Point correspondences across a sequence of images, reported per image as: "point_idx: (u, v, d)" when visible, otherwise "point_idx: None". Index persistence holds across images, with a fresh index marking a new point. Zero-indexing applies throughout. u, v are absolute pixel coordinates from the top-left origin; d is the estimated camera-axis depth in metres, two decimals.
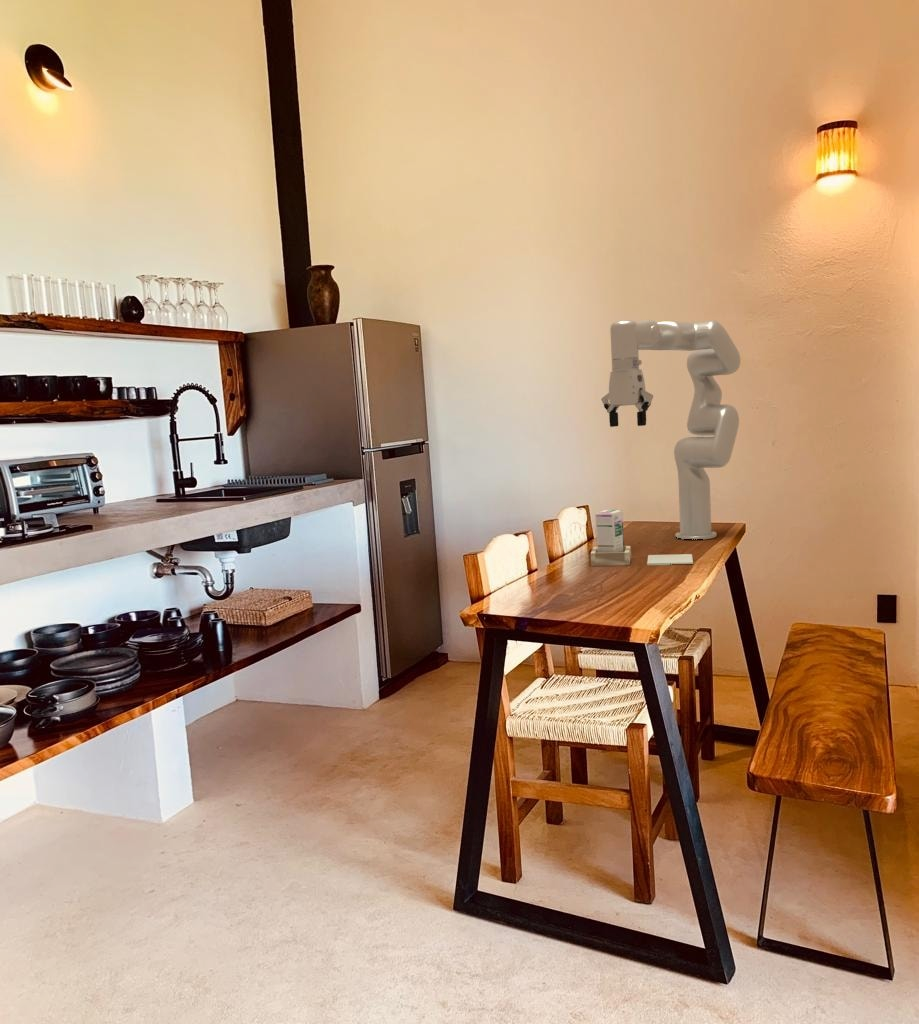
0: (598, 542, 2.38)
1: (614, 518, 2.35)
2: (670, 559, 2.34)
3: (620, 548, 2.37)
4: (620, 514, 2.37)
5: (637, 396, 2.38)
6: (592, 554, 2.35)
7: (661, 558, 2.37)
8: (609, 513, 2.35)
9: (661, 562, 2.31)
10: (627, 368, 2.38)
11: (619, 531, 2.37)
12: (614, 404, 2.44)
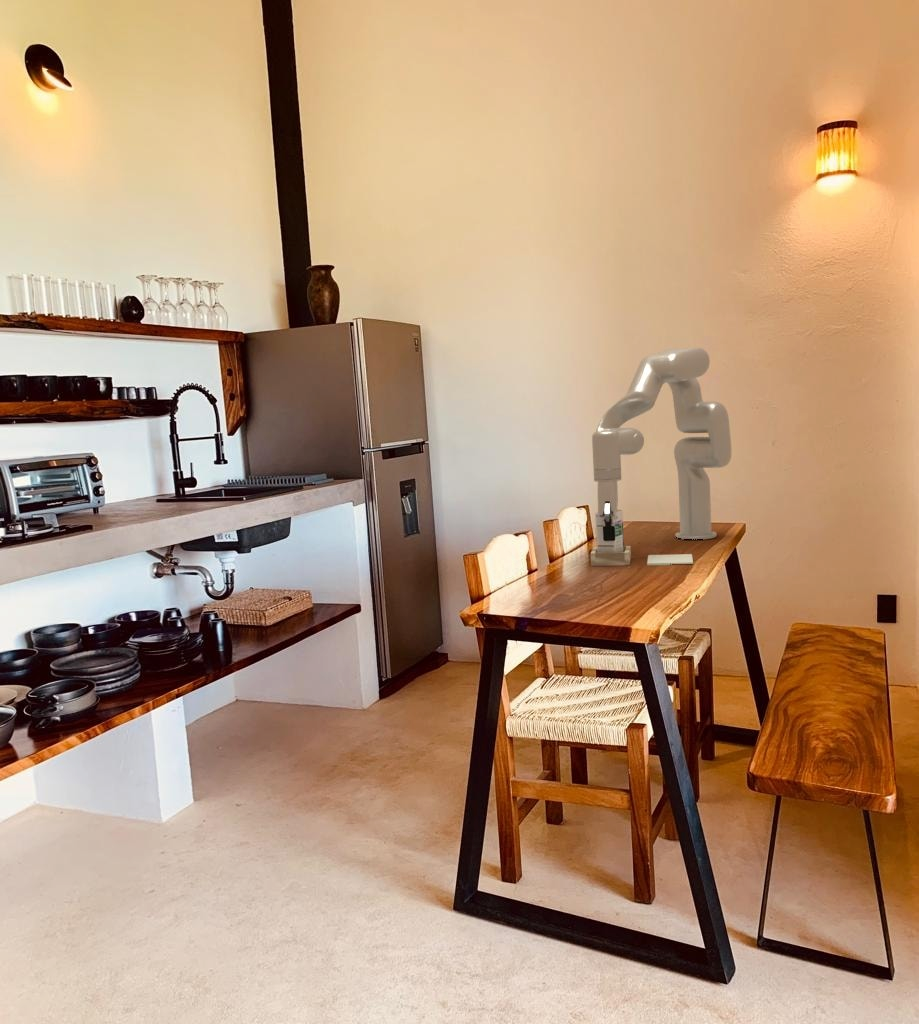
0: (598, 542, 2.38)
1: (614, 518, 2.35)
2: (670, 559, 2.34)
3: (620, 548, 2.37)
4: (620, 514, 2.37)
5: None
6: (592, 554, 2.35)
7: (661, 558, 2.37)
8: None
9: (661, 562, 2.31)
10: None
11: (619, 531, 2.37)
12: (615, 514, 2.35)
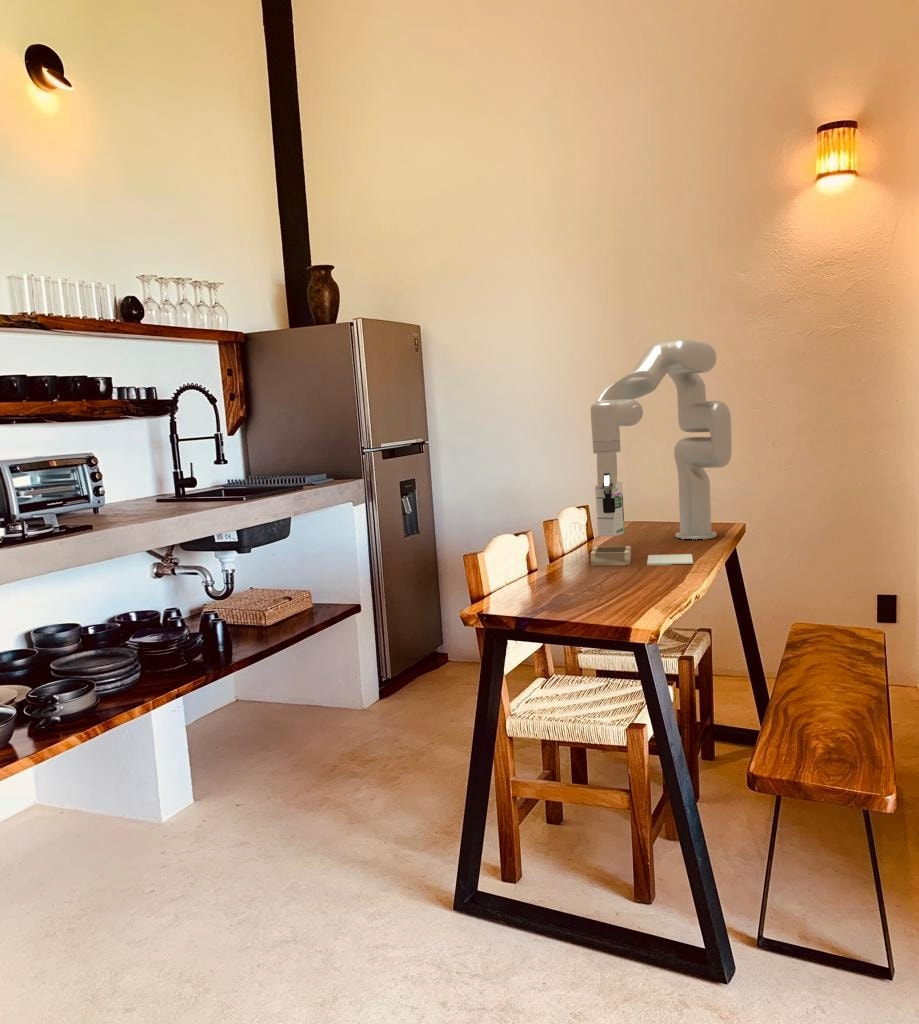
0: (598, 514, 2.37)
1: (614, 490, 2.34)
2: (670, 559, 2.34)
3: (619, 520, 2.37)
4: (620, 486, 2.37)
5: None
6: (592, 554, 2.35)
7: (661, 558, 2.37)
8: (609, 485, 2.34)
9: (661, 562, 2.31)
10: None
11: (619, 503, 2.36)
12: (615, 486, 2.34)
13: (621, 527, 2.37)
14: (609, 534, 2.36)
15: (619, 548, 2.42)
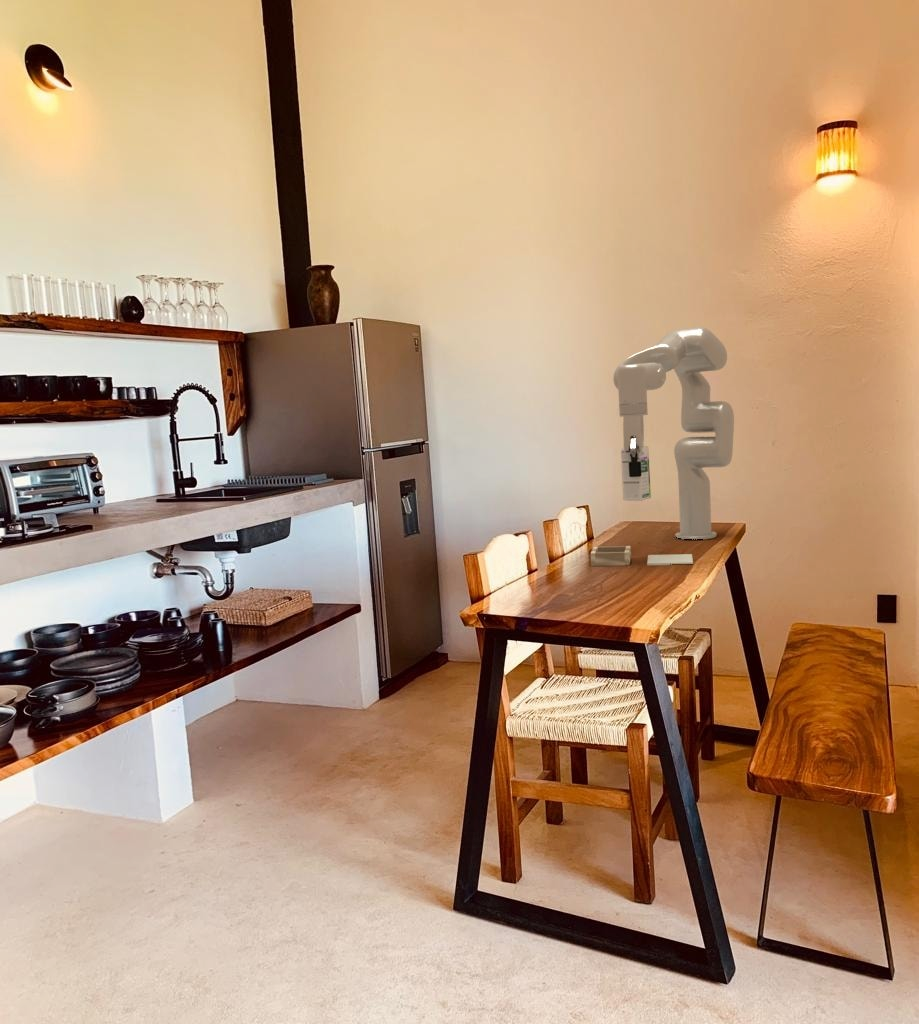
0: (623, 479, 2.34)
1: (640, 453, 2.31)
2: (670, 559, 2.34)
3: (645, 485, 2.33)
4: (646, 450, 2.33)
5: None
6: (592, 554, 2.35)
7: (661, 558, 2.37)
8: None
9: (661, 562, 2.31)
10: None
11: (645, 467, 2.33)
12: (641, 450, 2.31)
13: (647, 492, 2.34)
14: (635, 498, 2.33)
15: (619, 548, 2.42)
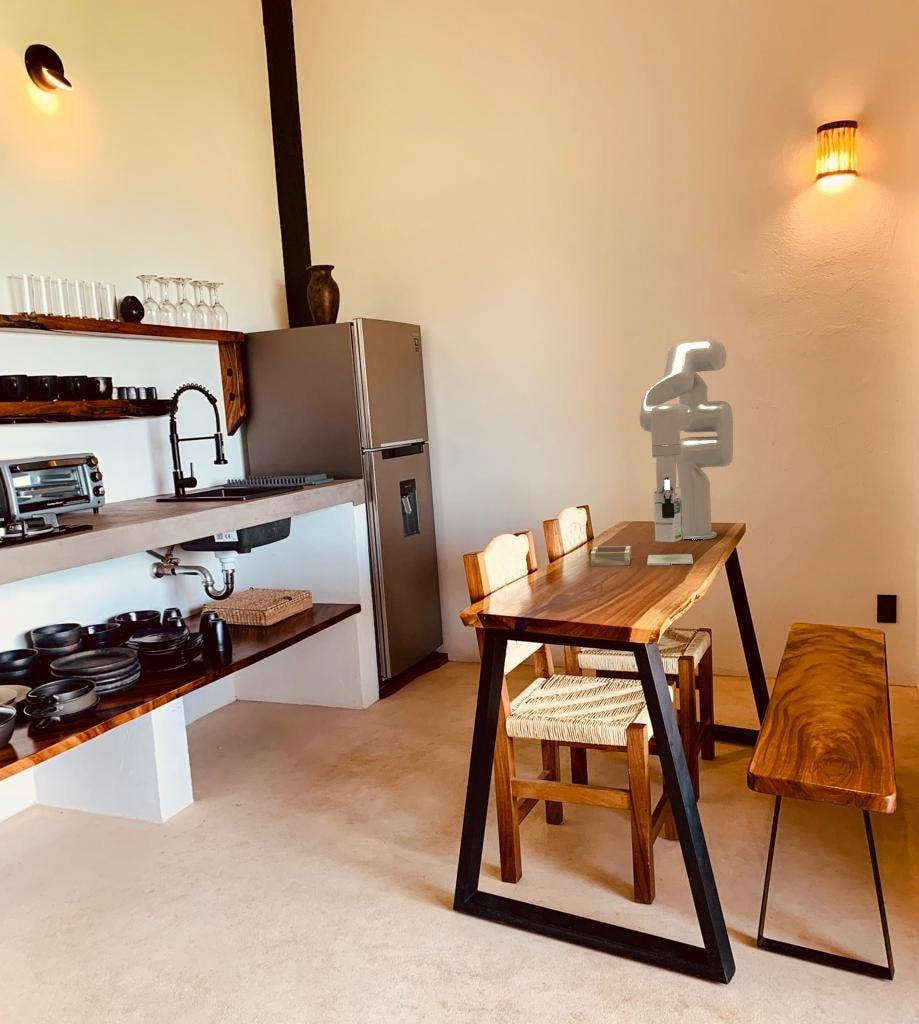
0: (656, 519, 2.33)
1: (673, 495, 2.30)
2: (670, 559, 2.34)
3: (678, 526, 2.33)
4: (679, 491, 2.33)
5: None
6: (592, 554, 2.35)
7: (661, 558, 2.37)
8: None
9: (661, 562, 2.31)
10: None
11: (678, 508, 2.32)
12: (674, 491, 2.30)
13: (679, 533, 2.33)
14: (667, 540, 2.32)
15: (619, 548, 2.42)
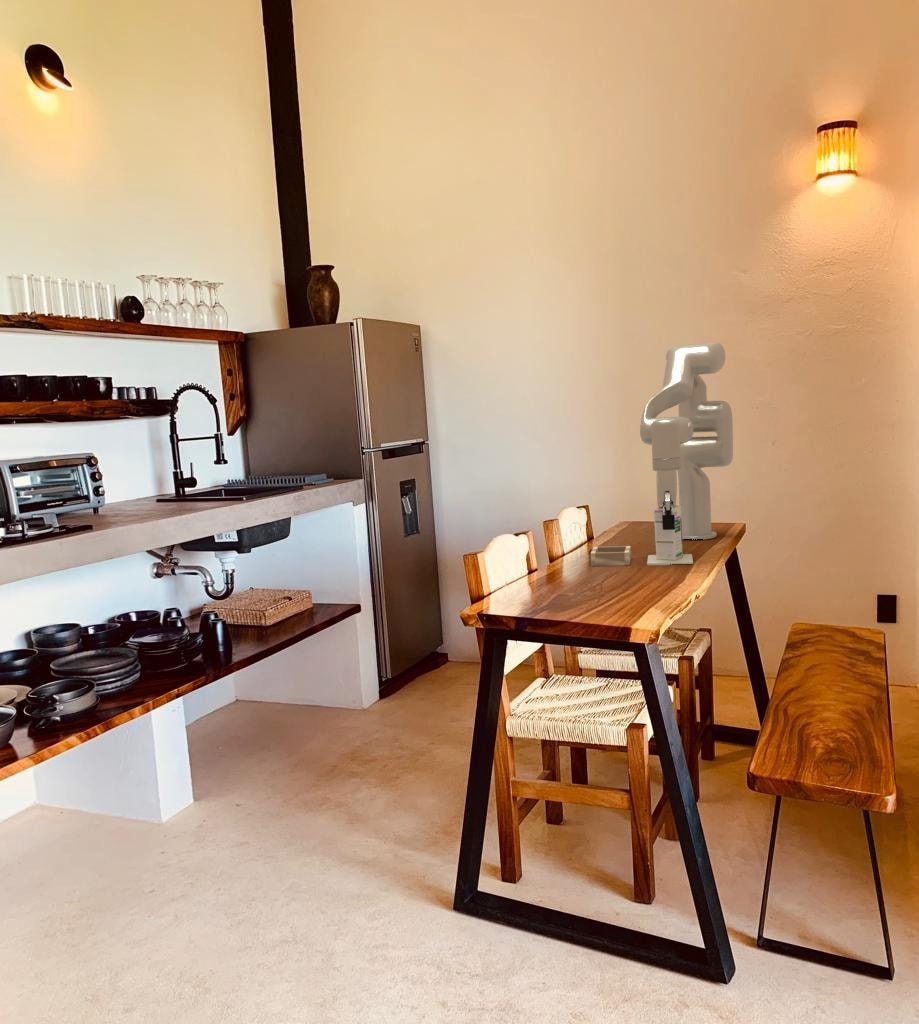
0: (656, 538, 2.34)
1: (674, 514, 2.31)
2: None
3: (679, 544, 2.34)
4: (679, 510, 2.34)
5: None
6: (592, 554, 2.35)
7: None
8: None
9: (661, 562, 2.31)
10: None
11: (678, 527, 2.33)
12: None
13: (680, 551, 2.34)
14: (668, 558, 2.33)
15: (619, 548, 2.42)
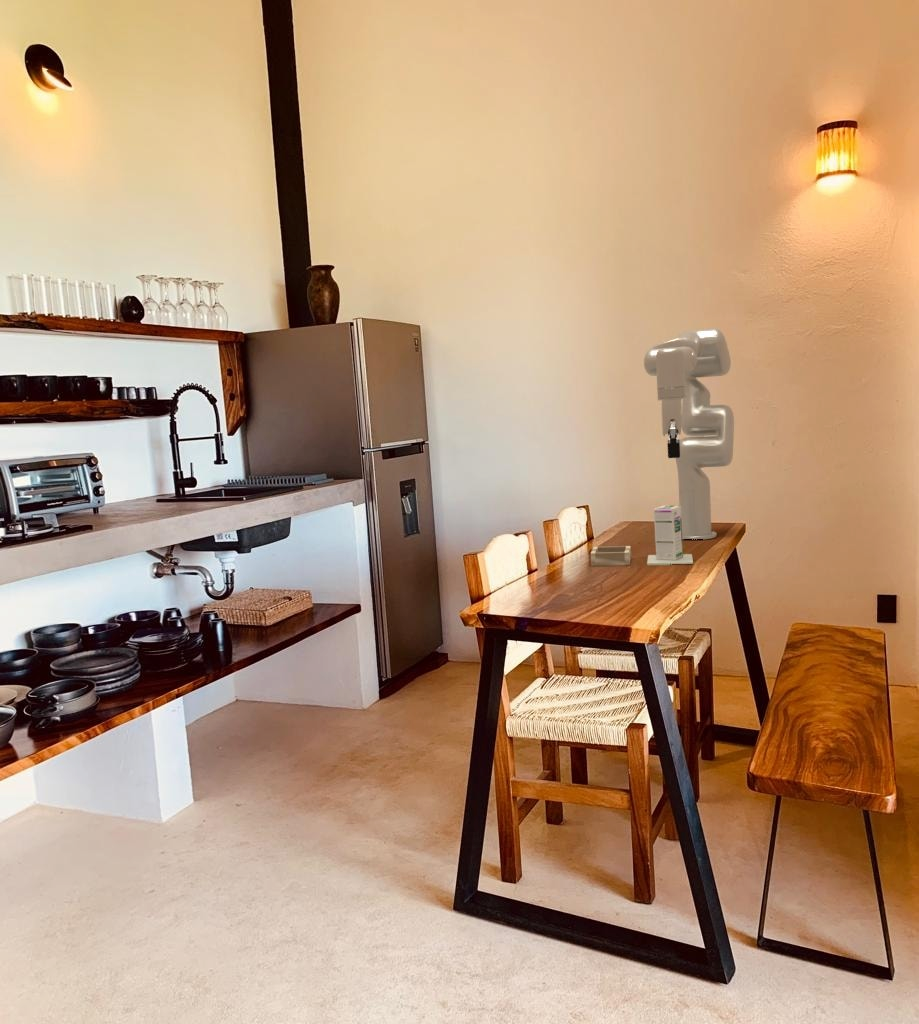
0: (656, 538, 2.34)
1: (674, 514, 2.31)
2: None
3: (679, 544, 2.34)
4: (679, 510, 2.34)
5: None
6: (592, 554, 2.35)
7: None
8: (669, 509, 2.31)
9: (661, 562, 2.31)
10: None
11: (678, 527, 2.33)
12: None
13: (680, 551, 2.34)
14: (668, 558, 2.33)
15: (619, 548, 2.42)
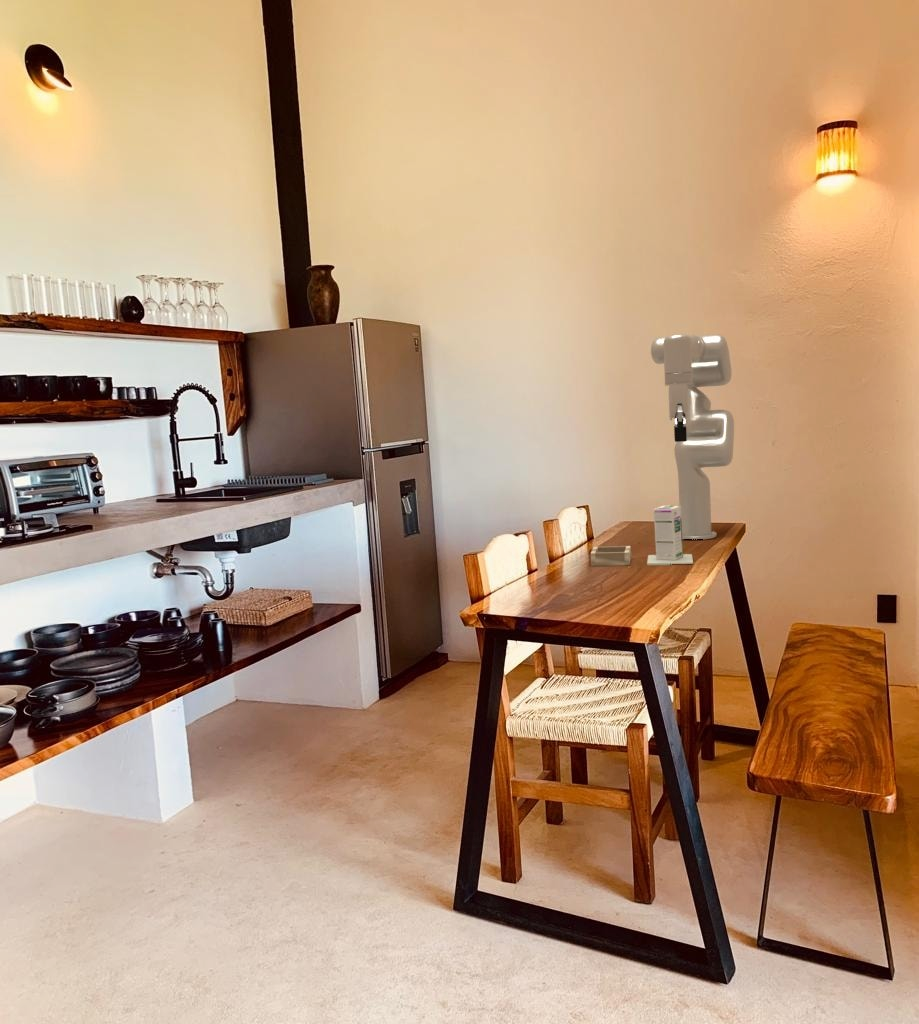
0: (656, 538, 2.34)
1: (674, 514, 2.31)
2: None
3: (679, 544, 2.34)
4: (679, 510, 2.34)
5: None
6: (592, 554, 2.35)
7: None
8: (669, 509, 2.31)
9: (661, 562, 2.31)
10: None
11: (678, 527, 2.33)
12: (687, 417, 2.38)
13: (680, 551, 2.34)
14: (668, 558, 2.33)
15: (619, 548, 2.42)
